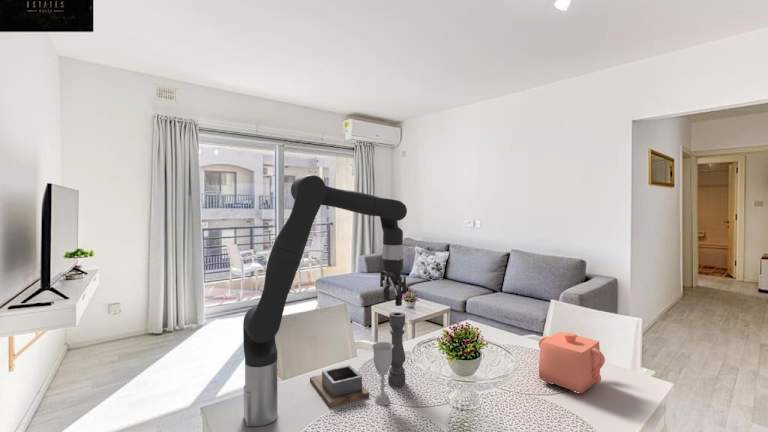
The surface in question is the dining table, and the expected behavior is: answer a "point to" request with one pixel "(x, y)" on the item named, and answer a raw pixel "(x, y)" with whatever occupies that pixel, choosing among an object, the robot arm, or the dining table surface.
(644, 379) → the dining table surface
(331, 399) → the keeper plate
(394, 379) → the candle holder
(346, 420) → the dining table surface
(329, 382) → the collar
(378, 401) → the chalice
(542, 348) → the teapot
